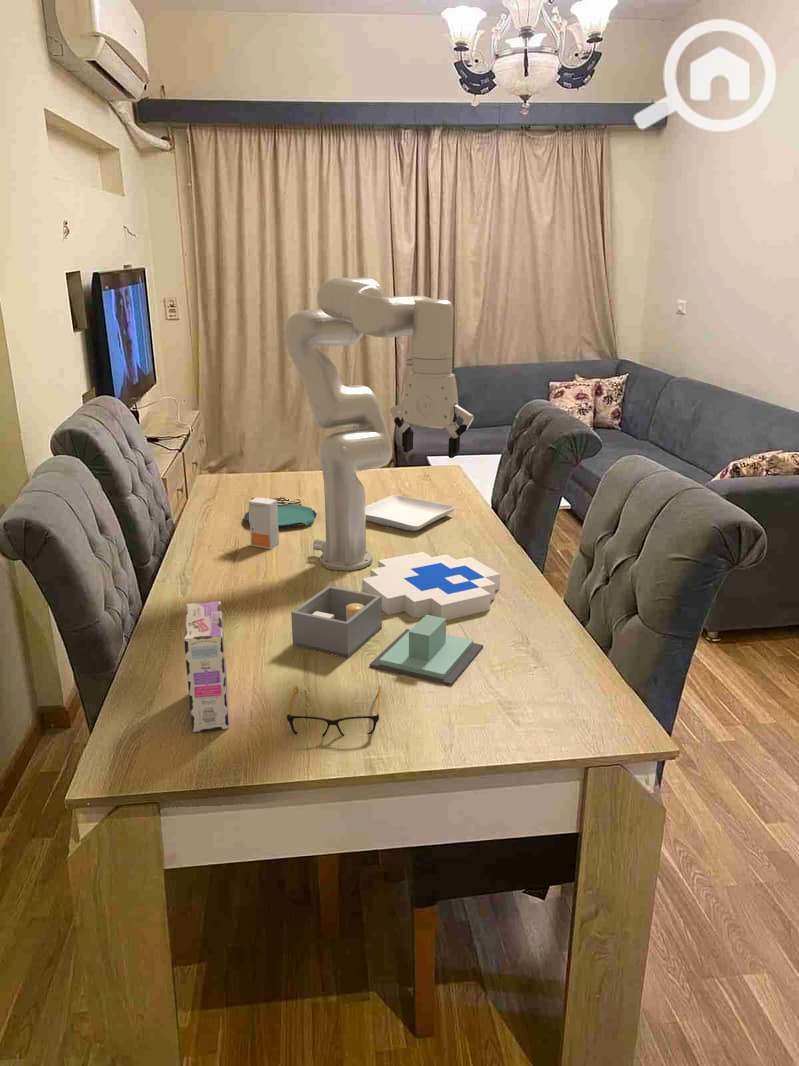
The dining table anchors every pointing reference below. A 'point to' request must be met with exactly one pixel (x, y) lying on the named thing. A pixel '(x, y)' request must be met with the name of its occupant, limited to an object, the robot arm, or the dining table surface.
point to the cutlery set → (292, 514)
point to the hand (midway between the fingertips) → (430, 453)
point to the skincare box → (263, 522)
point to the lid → (427, 649)
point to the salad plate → (406, 512)
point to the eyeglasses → (331, 722)
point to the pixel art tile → (432, 585)
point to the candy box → (206, 666)
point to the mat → (448, 680)
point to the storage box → (337, 621)
